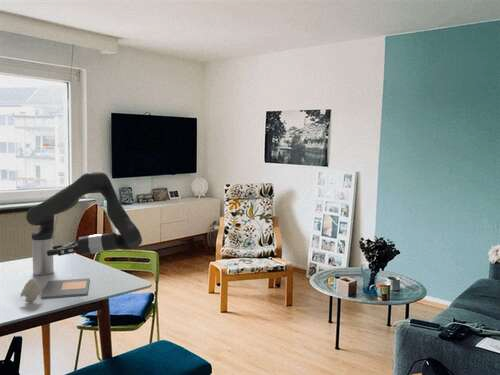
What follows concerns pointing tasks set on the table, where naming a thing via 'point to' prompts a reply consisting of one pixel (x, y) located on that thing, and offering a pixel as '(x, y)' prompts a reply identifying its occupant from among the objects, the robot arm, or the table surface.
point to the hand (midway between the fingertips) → (50, 251)
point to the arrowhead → (31, 291)
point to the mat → (66, 288)
